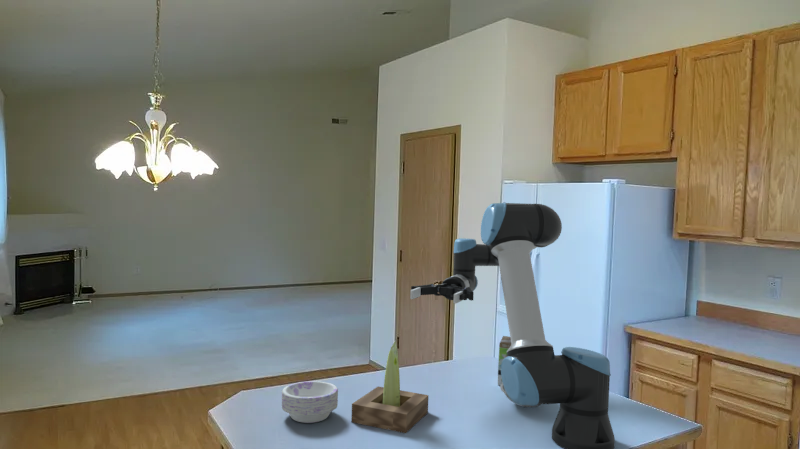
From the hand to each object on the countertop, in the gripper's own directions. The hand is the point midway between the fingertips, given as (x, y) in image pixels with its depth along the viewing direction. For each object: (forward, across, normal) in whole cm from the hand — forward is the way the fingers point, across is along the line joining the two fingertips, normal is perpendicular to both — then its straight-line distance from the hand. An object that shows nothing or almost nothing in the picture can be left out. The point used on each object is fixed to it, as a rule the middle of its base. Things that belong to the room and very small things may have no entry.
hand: (432, 296), depth 163 cm
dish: (-11, -26, -32) cm, 43 cm away
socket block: (+15, +6, -32) cm, 36 cm away
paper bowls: (+25, +26, -32) cm, 48 cm away
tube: (+15, +6, -31) cm, 35 cm away
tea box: (-31, -21, -32) cm, 50 cm away
